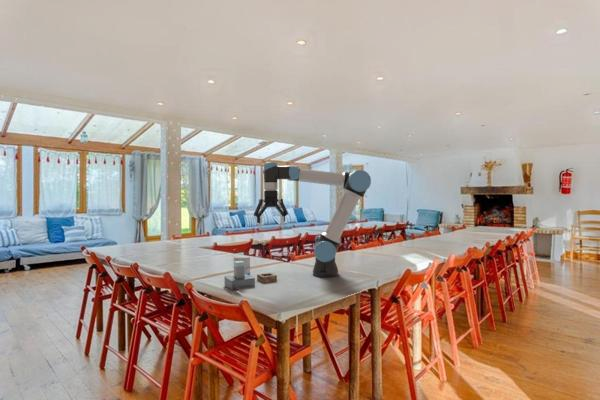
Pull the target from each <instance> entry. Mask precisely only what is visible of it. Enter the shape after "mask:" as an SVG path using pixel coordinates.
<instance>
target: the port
mask: <svg viewBox="0 0 600 400" xmlns="http://www.w3.org/2000/svg"><path fill="white" fill-rule="evenodd" d="M244 275H245V278H239V279H235V278H234V274H233V275H232V274H231V275H224V287H225V288H227V289H229V290H230V291H231V292H236V291H238V290H239V289H243V288H249V287H250V288H251V287H255V286H256V283H255V282H256V281H255V280H256V279H255V277H254V276H252V275H251V274H250V275H248V274H244Z"/></svg>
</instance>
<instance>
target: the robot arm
mask: <svg viewBox="0 0 600 400" xmlns="http://www.w3.org/2000/svg"><path fill="white" fill-rule="evenodd" d="M278 180H287V181H291V182H293V181H294V182H300V183H301V182H303V183H309V184H319V185H327V186H335V187H341V189H343V191H344V193H343V195H342V197H341V199H340V201H339V204H338V205H337V207H336V210H335V212H334V214H333V216H332V217H331V219H330V221H329V224H328V226H327V227H326V229H325V231H324V232H321V234H320V235H316V236H315V238H314V243H315V245H314V248H313V255H314V256H315V262H314V264H313V270H312V276H314V277H319V278H332V277H336V276H338V275H339V270H338V265H337V263H336V255H337V251H338V249H339V247H340V244H341V240H340V239H341V237H342V235H343V232H344V230H345V228H346V226H347V224H348V222H349V220H350V219H351V216H352V215H353V212H354V210H355V208H356V206H357V204H358V202H359V200H361V199H363V198H364V196H365V194H366V192H367V190H368V189H369V188H370V187H371V184H372V178H371V176H370V174H369V173H368V172H367V171H365V170H363V169H356V170H353V171H352V172H351V171H350V172H347V171H346V172H345V171H344V172H342V173H341V172H333V171H332V172H331V171H323V170H317V169H316V170H315V169H314V170H313V169H307V168H306V169H305V168H299V166H298V165H278V162H273V161H269V162H265V163H264V164H263V189H264V192H263V197H264V199H262V198H259V199H258V202H257V203H258V204H257V206H256V208H255V211H254V213H253V216H254V217H256V223H257V224H258V229H259V230H262V229H263V228H262V227H263V223H262V222H263V218H262V215H263V214H264V212H265V211H266V209H267V208H275V209H276V210H277V212H278V213H279V214H280V216H279V217H280V221H279V222H280V228H282V229H283V228H285V222H286V216H287V215H289V213H288V210H287V208H286V206H285V203H284V199H283V198H278V197H279V196H278V195H279V194H278V189H279V188H278V187H279V186H278ZM278 203H279V204H278ZM262 205H263V206H262Z"/></svg>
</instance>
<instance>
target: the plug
mask: <svg viewBox="0 0 600 400" xmlns="http://www.w3.org/2000/svg"><path fill="white" fill-rule="evenodd" d="M233 275H234V278H235V279H239V278H245V275H244V262H243V261H234V260H233Z"/></svg>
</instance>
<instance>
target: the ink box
mask: <svg viewBox="0 0 600 400" xmlns="http://www.w3.org/2000/svg"><path fill="white" fill-rule="evenodd" d="M234 261H243V262H244V274H248V275H250V276H251V257H250V256H234V257H233V262H234Z"/></svg>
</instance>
